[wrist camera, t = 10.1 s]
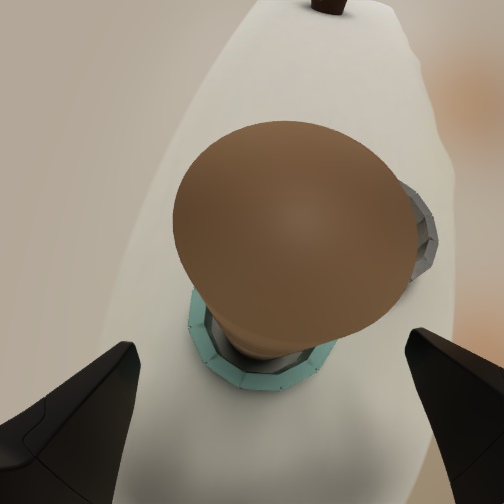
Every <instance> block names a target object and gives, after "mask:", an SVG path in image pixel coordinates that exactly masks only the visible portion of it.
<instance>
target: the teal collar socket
mask: <svg viewBox="0 0 504 504" xmlns="http://www.w3.org/2000/svg"><path fill="white" fill-rule="evenodd" d="M194 289H195V290H192V296H191V304H190V312H189V320H188V327H190V328H188V329H189V332H190V334H191V336H192V339H193V341H194V343H195V345H196V348H197V350H198V352H199V354H200V357H201V359H202V361H203V363H206V366H207V367H208V368H210V369H211V370H213V371H214V372H215V373H217V374H218V375H220V376H221V377H223V378H224V379H226V380H227V381H228V382H230V383H231V384H233V385H234V386H236V387H237V388H238V387H239V385H240V384H241V388H240V389H252V390H270V391H280V389H282V390H284V389H286V388H288V387H290V386H292V385H294V384H296V383H298V382H300V381H302V380H304V379H306V378H307V377H309V376H311V375H313V374H315V373H317V371H316V370H320V368H321V366H322V365H323V363H324V362H325V360H326V358H327V357H328V355H329V353H330V352H331V350H332V348H333V347H334V345H335V343H336V341H337V340H338V339H336V340H333V341H330V342H327V343H324V344H321V345H318V346H315V347H312V348H309V349H305V350H304V351H303V352H302V354H301V355H300V357H299V359H298V360H297V361H296V362H294V363H292V364H290V365H288V366H286V367H284V368H282V369H280V370H278V371H276V372H274V373H257V372H245V371H243V370H242V369H240V368H239V367H237V366H236V365H234V364H233V363H231V362H230V361H228V360H227V359H225V358H224V357H223V356H222V355H221V353H220V350H219V348H218V346H217V344H216V342H215V340H214V338H213V335H212V333H211V327H212V317H213V315H212V314H211V312H210V310H209V309H208V307H207V306H206V304H205V303H204V301H203V299H202V298H201V296H200V295H199V293H198V291H197V290H196V288H195V287H194Z"/></svg>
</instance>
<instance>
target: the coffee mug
mask: <svg viewBox="0 0 504 504" xmlns="http://www.w3.org/2000/svg"><path fill="white" fill-rule="evenodd" d="M346 2H347V0H311V7H312V9H314V10H316V11H319V12H322V13H326V14H332V15H341V14H342V13H343V10H344V7H345V5H346Z"/></svg>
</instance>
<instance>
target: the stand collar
mask: <svg viewBox="0 0 504 504" xmlns="http://www.w3.org/2000/svg"><path fill="white" fill-rule="evenodd" d="M399 182H400V184H401V185H402V187H403V189H404V191H405V192H406V194H407V197H408V199H409V201H410V204H411V206H412V209H413V213H414V216H415V220H416V227H417V236H418V248H417V256H416V262H415V266H414V270H413V273H412V276H411V278H410V280H409V282H411V281H413V280H414V279H415V278H417V277H418V276H420V275H421V274H422V273H424V272H425V271H426V270H428V269H429V268H430V267H431V266H432V264H433V261H434V257H435V254H436V251H437V247H438V244H439V243H438V242H439V240H438V235H437V231H436V226H435V222H434V217H433V216H432V213H431V212H430V210H429V209H428V207H427V206H426V204H425V203H424V202H423V200H422V199H421V197H420V196H419V195H418V193H416V191H414V190H413V189H411V188H410V187H408V186H407V185H406V184H404V183H403V182H401V181H399ZM415 193H416V194H415Z"/></svg>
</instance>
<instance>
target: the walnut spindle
mask: <svg viewBox="0 0 504 504" xmlns="http://www.w3.org/2000/svg"><path fill="white" fill-rule="evenodd" d="M173 233H174V239H175V245H176V249H177V252H178V255H179V258H180V261H181V263H182V265H183V267H184V269H185V271H186V273H187V275H188V277H189V278H190V280H191V282H192V283H193V285H194V287H195V288H196V290H197V291H198V293H199V295H200V296H201V298H202V299H203V301H204V303H205V304H206V306H207V307H208V309H209V310H210V312H211V314H212V315H213V317H214V318H215V320H216V321H217V323H218V324H219V326H220V327H221V329H222V330H223V332H224V333H225V335H226V336H227V338H228V339H229V341H230V342H231V344H232V345H233V347H234V348H235V349H236V350H237V351H238V352H240V353H241V354H242V355H244V356H246V357H248V358H251V359H255V360H270V359H274V358H278V357H281V356H285V355H288V354H292V353H295V352H299V351H302V350H305V349H309V348H312V347H315V346H318V345H321V344H324V343H327V342H330V341H333V340H336V339H339V338H342V337H345V336H348V335H350V334H353V333H356V332H358V331H360V330H362V329H364V328H366V327H368V326H369V325H371V324H373V323H374V322H376V321H377V320H378V319H380V318H381V317H382V316H383V315H385V314H386V313H387V312H388V311H389V310H390V309H391V308H392V307H393V305H394V304H395V303H396V302H397V301H398V300H399V298H400V297H401V295H402V294H403V292H404V290H405V289H406V287H407V285H408V283H409V280H410V278H411V276H412V273H413V270H414V266H415V262H416V256H417V248H418V236H417V227H416V220H415V216H414V213H413V209H412V206H411V204H410V201H409V199H408V197H407V194H406V192H405V191H404V189H403V187H402V185H401V184H400V182H399V180H398V179H397V178H396V176H395V175H394V174H393V172H392V171H391V170H390V169H389V168H388V166H387V165H386V164H385V163H384V162H383V161H382V160H381V159H380V158H379V157H378V156H376V155H375V154H374V153H373V152H372V151H371V150H369V149H368V148H366V147H365V146H364V145H362V144H361V143H359V142H357V141H356V140H354V139H352V138H351V137H349V136H347V135H344V134H342V133H340V132H338V131H335V130H332V129H330V128H327V127H323V126H319V125H315V124H311V123H305V122H296V121H273V122H266V123H259V124H255V125H251V126H247V127H244V128H242V129H239V130H236V131H234V132H232V133H230V134H228V135H226V136H224V137H222V138H221V139H219V140H218V141H216V142H215V143H213V144H212V145H210V146H209V147H208V148H207V149H206V150H205V151H203V152H202V153H201V154H200V155H199V156H198V158H197V159H196V160H195V161H194V162H193V163H192V165H191V166H190V168H189V169H188V171H187V172H186V174H185V176H184V178H183V180H182V182H181V184H180V186H179V189H178V192H177V195H176V199H175V203H174V210H173Z"/></svg>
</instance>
